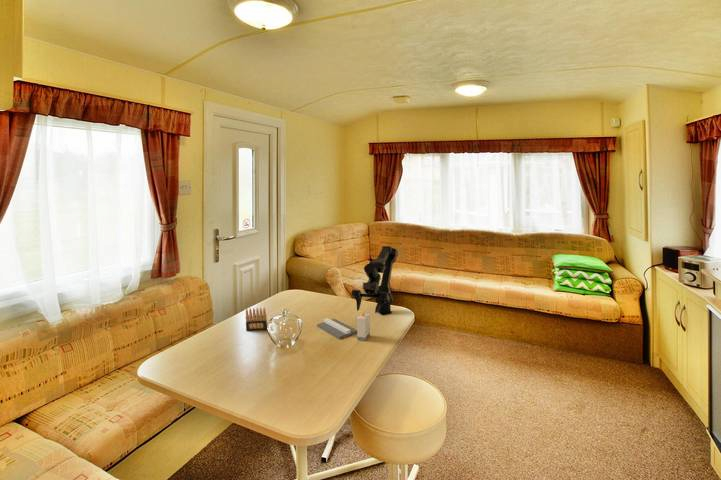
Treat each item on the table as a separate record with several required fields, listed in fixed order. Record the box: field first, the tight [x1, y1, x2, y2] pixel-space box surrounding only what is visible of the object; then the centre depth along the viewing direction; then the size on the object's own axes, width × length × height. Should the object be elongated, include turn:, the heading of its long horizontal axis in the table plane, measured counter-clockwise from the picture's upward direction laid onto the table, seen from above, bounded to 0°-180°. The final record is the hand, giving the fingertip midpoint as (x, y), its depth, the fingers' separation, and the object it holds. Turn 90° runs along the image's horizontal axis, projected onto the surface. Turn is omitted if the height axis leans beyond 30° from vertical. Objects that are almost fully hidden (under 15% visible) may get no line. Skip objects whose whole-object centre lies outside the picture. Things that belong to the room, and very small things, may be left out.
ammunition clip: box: [245, 307, 268, 332], centre depth 175 cm, size 11×2×12 cm, turn 93°
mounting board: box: [316, 317, 357, 340], centre depth 174 cm, size 20×11×3 cm, turn 39°
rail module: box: [356, 312, 371, 342], centre depth 162 cm, size 6×4×12 cm, turn 159°
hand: (366, 311), depth 166 cm, fingers open, 9 cm apart
